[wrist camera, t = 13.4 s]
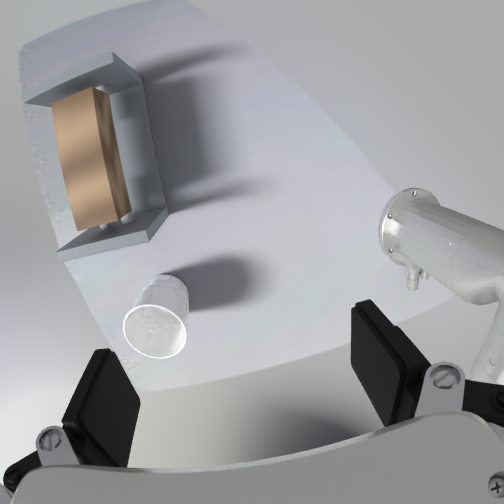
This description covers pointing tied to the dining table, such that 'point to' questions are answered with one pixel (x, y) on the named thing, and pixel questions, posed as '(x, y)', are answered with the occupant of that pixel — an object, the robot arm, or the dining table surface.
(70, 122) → the shelf board
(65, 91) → the peg frame
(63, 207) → the dining table surface
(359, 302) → the robot arm
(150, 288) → the white cup
